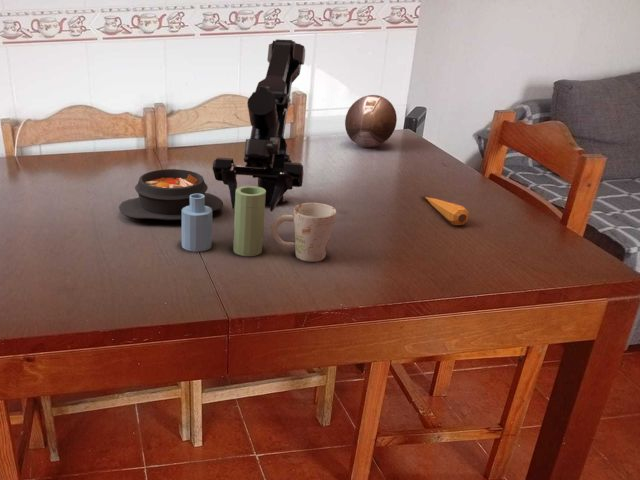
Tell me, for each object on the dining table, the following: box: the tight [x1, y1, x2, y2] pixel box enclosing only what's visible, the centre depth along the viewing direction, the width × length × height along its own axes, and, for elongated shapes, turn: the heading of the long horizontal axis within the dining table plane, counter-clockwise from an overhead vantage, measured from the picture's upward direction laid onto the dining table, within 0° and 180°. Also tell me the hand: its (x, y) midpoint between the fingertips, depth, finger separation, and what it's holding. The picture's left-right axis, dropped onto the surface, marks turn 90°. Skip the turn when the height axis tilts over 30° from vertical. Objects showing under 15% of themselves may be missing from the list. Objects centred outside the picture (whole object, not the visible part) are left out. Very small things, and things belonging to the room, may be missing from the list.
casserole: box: [118, 168, 224, 222], centre depth 164 cm, size 25×19×8 cm
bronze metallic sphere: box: [344, 94, 398, 148], centre depth 210 cm, size 15×15×15 cm
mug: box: [270, 202, 337, 263], centre depth 142 cm, size 8×13×10 cm, turn 78°
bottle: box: [181, 194, 213, 253], centre depth 146 cm, size 6×6×11 cm
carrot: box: [424, 196, 470, 226], centre depth 165 cm, size 20×4×4 cm, turn 6°
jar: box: [232, 185, 266, 257], centre depth 143 cm, size 6×6×13 cm
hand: (252, 209), depth 145 cm, fingers open, 8 cm apart
